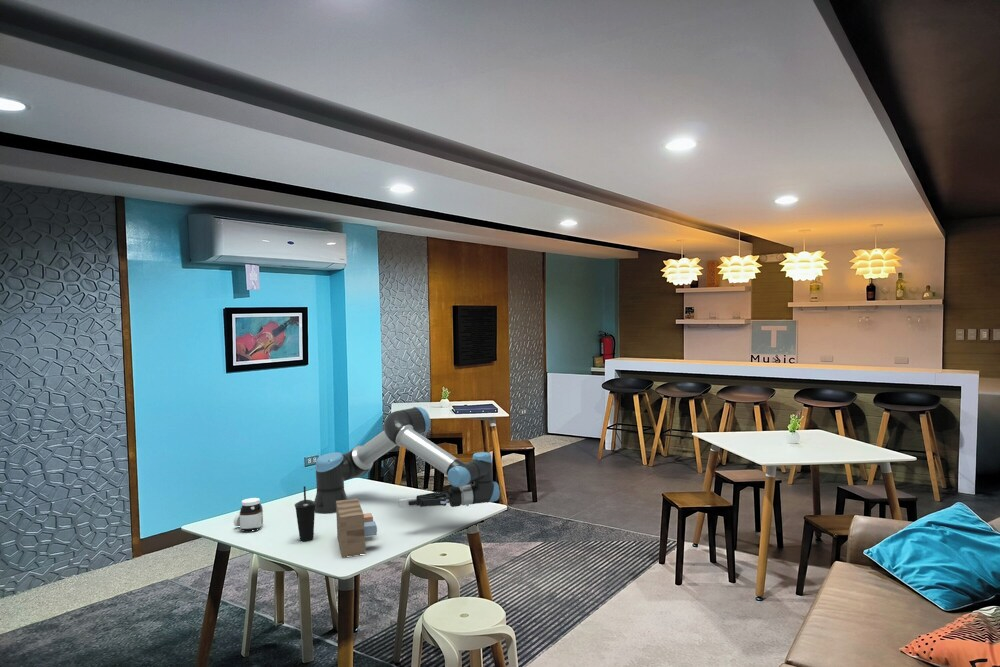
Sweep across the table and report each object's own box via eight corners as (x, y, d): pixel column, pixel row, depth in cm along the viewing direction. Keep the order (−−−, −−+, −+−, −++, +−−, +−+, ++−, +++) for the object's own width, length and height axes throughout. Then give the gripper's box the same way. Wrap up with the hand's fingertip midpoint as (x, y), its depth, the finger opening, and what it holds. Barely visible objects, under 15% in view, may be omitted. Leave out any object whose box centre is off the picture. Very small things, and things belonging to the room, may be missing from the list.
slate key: (358, 533, 228) (357, 523, 228) (375, 530, 230) (375, 521, 230) (359, 537, 224) (359, 527, 224) (377, 535, 226) (377, 525, 225)
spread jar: (257, 532, 250) (256, 503, 250) (228, 534, 249) (227, 504, 249) (267, 523, 262) (265, 494, 262) (238, 524, 261) (237, 496, 261)
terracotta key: (355, 524, 239) (354, 514, 239) (372, 522, 241) (371, 512, 241) (356, 528, 234) (356, 518, 234) (373, 525, 236) (373, 516, 236)
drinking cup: (297, 544, 234) (294, 490, 234) (294, 538, 241) (292, 485, 241) (318, 541, 237) (316, 487, 237) (315, 535, 244) (313, 483, 244)
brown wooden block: (337, 538, 240) (335, 501, 240) (359, 535, 242) (357, 498, 242) (341, 557, 219) (339, 517, 219) (365, 554, 221) (363, 514, 221)
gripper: (464, 509, 242) (402, 518, 235) (456, 501, 254) (397, 509, 247) (463, 490, 242) (401, 497, 235) (455, 482, 254) (396, 489, 247)
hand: (399, 503), depth 241 cm, fingers closed
